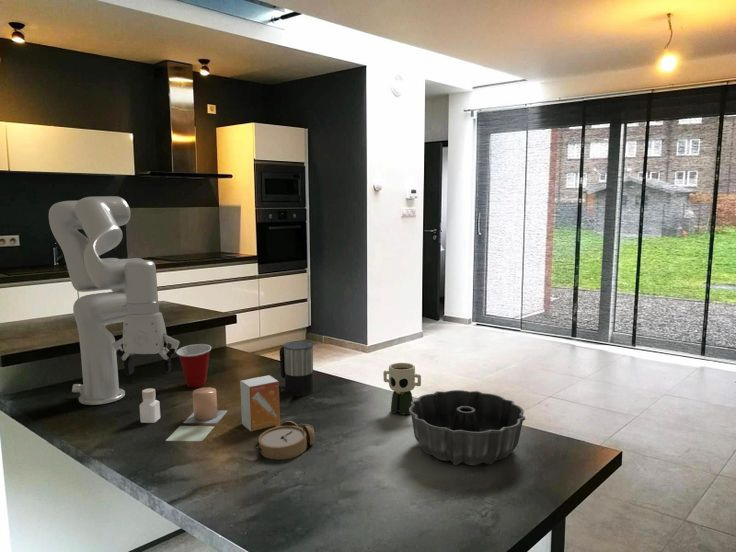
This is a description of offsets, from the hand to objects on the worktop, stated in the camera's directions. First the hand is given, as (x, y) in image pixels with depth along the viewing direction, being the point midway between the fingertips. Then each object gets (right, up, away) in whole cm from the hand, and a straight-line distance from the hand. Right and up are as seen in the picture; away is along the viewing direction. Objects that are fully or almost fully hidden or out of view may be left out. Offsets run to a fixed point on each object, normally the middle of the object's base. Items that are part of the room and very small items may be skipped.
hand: (148, 373), depth 151 cm
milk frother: (+32, -11, +26) cm, 43 cm away
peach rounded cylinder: (+14, -12, +4) cm, 19 cm away
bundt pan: (+80, -15, -15) cm, 83 cm away
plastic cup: (+2, -10, +35) cm, 36 cm away
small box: (+30, -14, -2) cm, 33 cm away
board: (+14, -14, -2) cm, 20 cm away
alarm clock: (+38, -16, -12) cm, 43 cm away
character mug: (+66, -12, +9) cm, 68 cm away
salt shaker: (0, -14, +2) cm, 14 cm away
